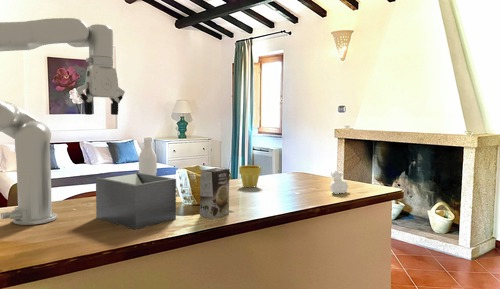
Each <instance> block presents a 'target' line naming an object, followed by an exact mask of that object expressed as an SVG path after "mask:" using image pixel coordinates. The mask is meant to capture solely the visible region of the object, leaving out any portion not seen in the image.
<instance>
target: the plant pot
mask: <svg viewBox="0 0 500 289" xmlns="http://www.w3.org/2000/svg"><path fill="white" fill-rule="evenodd" d="M238 168H239V169H238V170H239V171H238V172H239V175H240V178H241V181H242V187H243V186H244V187H243V188H246V187H254V186H258V181H259V177H260V175H261V171H262V170H261V166H260V165H252V164H251V165H249V164H247V165H246V164H245V165H239V167H238ZM254 188H255V187H254Z"/></svg>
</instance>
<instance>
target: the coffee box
mask: <svg viewBox="0 0 500 289" xmlns="http://www.w3.org/2000/svg"><path fill="white" fill-rule="evenodd" d="M230 171H231V170H230V169H229V168H223V167H222V168H220V167H219V168H218V167H214V168H209V169H208V168H207V169H201V170H200V181H199V182H200V187H199V189H200V191H199V192H200V193H199V195H200V196H199V217H202V218H207V219H211V220H215V219H218V218H221V217H224V216H227V215H229V214H230Z"/></svg>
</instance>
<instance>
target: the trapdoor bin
mask: <svg viewBox="0 0 500 289" xmlns="http://www.w3.org/2000/svg"><path fill="white" fill-rule="evenodd" d="M133 174H137V176H138V178H139V179H140V181H141V183H142V184H138V185H135V184H130V183H125V182H120V181H115V180H110V179H105V178H106V177H105V178H104V177H100V176H99V177H95V200H96V201H95V205H96V206H95V207H96V210H95V211H96V216H95V217H96V219H98V220H102V221H105V222H108V223H112V224H115V225H119V226H123V227H125V228H128V229H131V230H135V231H137V230H141V229H144V228H147V227H151V226H154V225H158V224H162V223H165V222H169V221H173V220H176V219H177V190H176V189H177V178H172V177H168V176H167V177H166V176H161V175H157V174H156V175H150V174H144V173H139V171H138V172H137V171H136V172H133Z"/></svg>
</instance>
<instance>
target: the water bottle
mask: <svg viewBox="0 0 500 289" xmlns="http://www.w3.org/2000/svg"><path fill="white" fill-rule="evenodd" d="M142 144H143V148H142V149H141V151H140V152H139V155H138V173H144V174H150V175H156V176H157V172H158V170H157V169H158V166H157V165H158V164H157V162H158V161H157V160H158V157H157V156H158V155H156V152H155V150H154V148H153V140H152V137H143V143H142Z"/></svg>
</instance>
